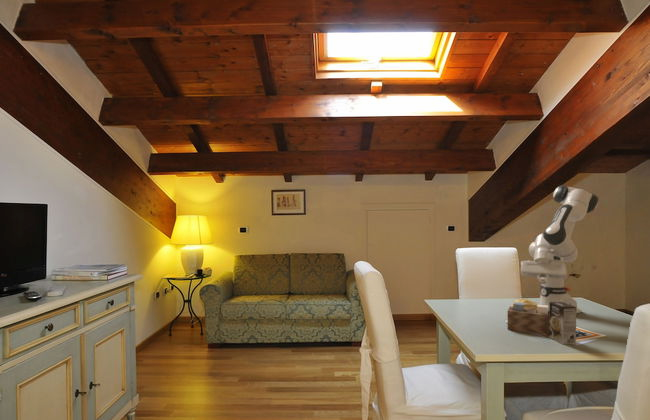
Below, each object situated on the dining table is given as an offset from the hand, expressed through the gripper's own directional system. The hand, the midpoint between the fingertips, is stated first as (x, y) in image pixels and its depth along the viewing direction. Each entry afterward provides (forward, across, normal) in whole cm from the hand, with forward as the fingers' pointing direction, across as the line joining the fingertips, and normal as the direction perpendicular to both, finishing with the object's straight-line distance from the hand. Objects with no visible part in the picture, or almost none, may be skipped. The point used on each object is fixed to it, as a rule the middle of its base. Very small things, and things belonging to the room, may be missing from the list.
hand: (543, 283), depth 192 cm
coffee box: (+28, +8, +2) cm, 30 cm away
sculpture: (+8, -9, +23) cm, 26 cm away
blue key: (+15, -10, +4) cm, 18 cm away
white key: (+15, 0, +4) cm, 15 cm away
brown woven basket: (+21, -5, +10) cm, 23 cm away
